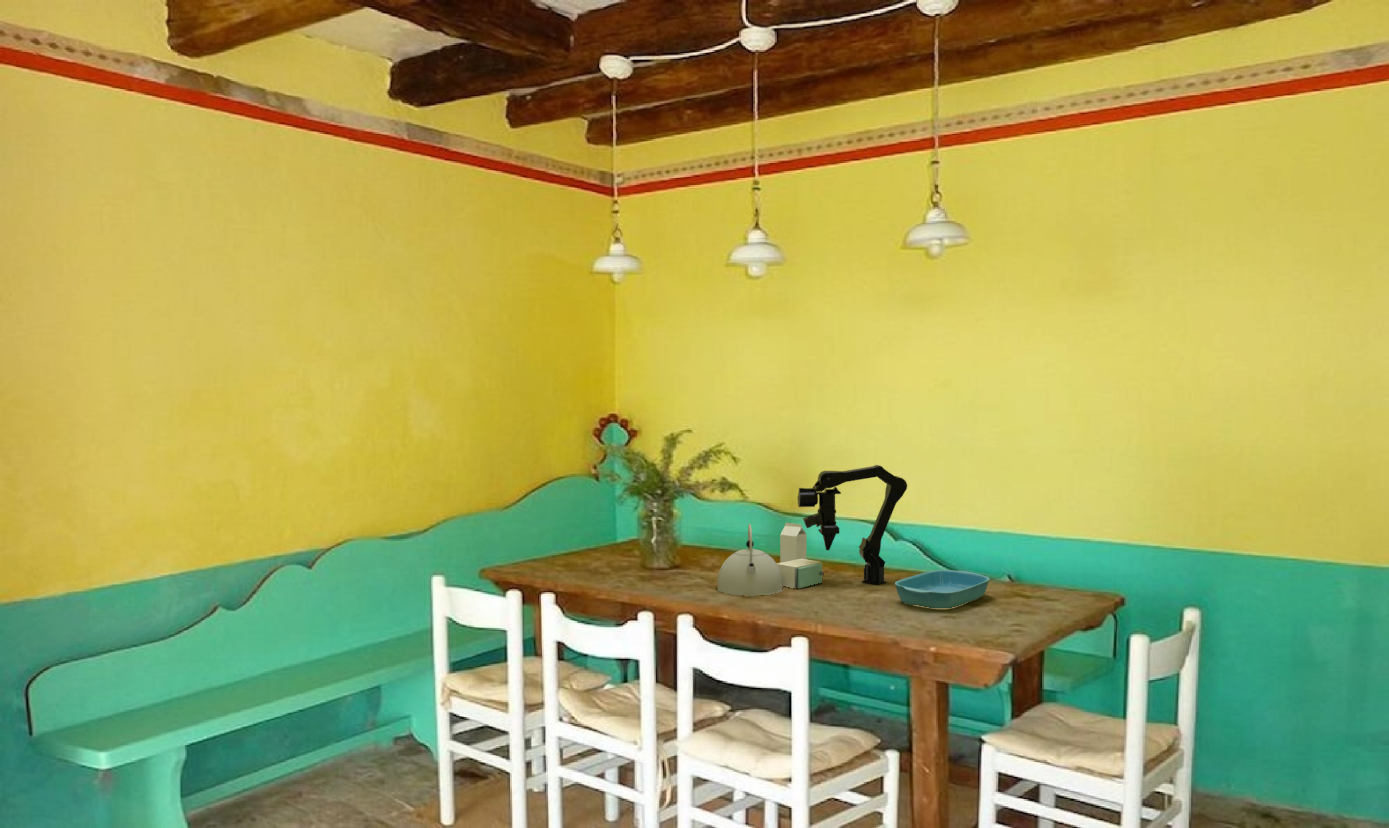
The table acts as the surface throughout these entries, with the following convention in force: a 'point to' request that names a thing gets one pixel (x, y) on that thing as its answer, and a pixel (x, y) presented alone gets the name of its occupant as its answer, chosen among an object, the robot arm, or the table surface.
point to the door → (810, 575)
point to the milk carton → (792, 543)
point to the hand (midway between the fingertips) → (827, 550)
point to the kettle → (749, 572)
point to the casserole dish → (942, 588)
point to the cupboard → (793, 571)
